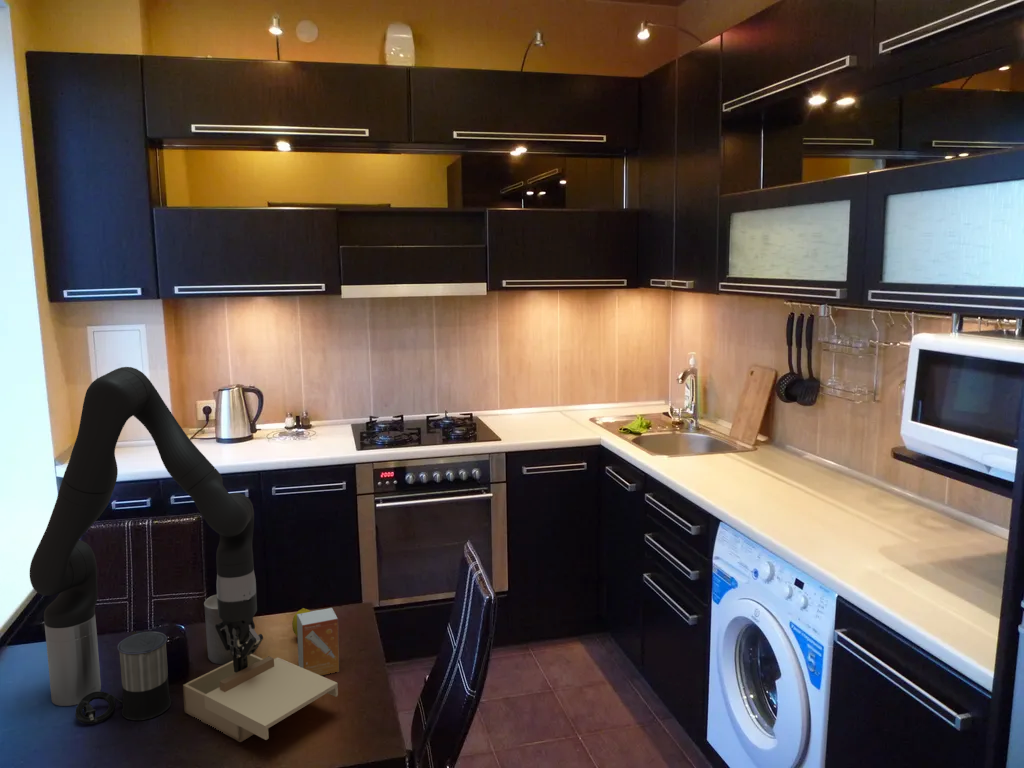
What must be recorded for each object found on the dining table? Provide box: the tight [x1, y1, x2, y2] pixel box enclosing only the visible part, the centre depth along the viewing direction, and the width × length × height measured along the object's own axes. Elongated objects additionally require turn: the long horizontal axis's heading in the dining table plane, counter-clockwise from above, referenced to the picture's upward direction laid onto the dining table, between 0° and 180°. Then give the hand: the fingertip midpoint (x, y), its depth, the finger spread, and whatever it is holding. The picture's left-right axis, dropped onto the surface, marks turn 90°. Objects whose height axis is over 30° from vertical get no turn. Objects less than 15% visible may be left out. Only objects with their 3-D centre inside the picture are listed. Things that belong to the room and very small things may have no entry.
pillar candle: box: [203, 593, 233, 665], centre depth 178 cm, size 10×10×15 cm
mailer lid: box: [204, 655, 339, 741], centre depth 151 cm, size 18×18×5 cm
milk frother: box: [74, 631, 172, 725], centre depth 154 cm, size 14×16×15 cm
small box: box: [297, 607, 340, 676], centre depth 171 cm, size 8×6×13 cm
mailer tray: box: [182, 653, 263, 743], centre depth 156 cm, size 18×16×6 cm
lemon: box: [291, 607, 312, 638], centre depth 186 cm, size 6×6×8 cm
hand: (241, 671), depth 156 cm, fingers closed
